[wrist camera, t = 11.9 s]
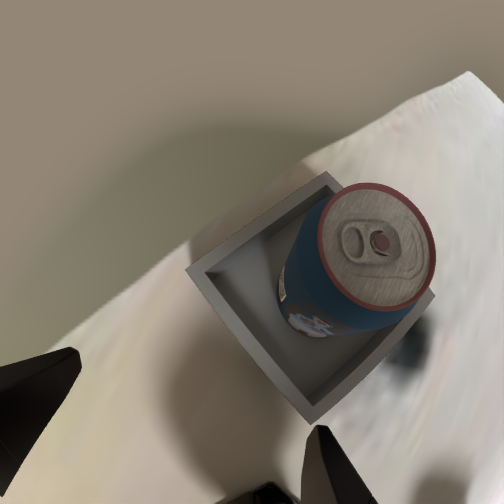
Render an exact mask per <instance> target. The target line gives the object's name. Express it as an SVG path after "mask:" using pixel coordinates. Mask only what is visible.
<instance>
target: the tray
mask: <svg viewBox="0 0 504 504" xmlns="http://www.w3.org/2000/svg"><path fill="white" fill-rule="evenodd" d="M342 189H344V188H343V187H342V186H341V185H340V184H339V183H338V182H337V181H336V180H335V179H334V178H333V177H332V176H331V175H330V174H329V173H328V172H327V171H325V172H324V173H322V174H321V175H319V176H318V177H316V178H315V179H313V180H312V181H310V182H309V183H307V184H306V185H304V186H303V187H302V188H300V189H299V190H297V191H296V192H294V193H293V194H291V195H290V196H288V197H287V198H285V199H284V200H282V201H281V202H280V203H278V204H277V205H275V206H274V207H272V208H271V209H269V210H268V211H267V212H265V213H264V214H262V215H261V216H259V217H258V218H256V219H255V220H254V221H252V222H251V223H249V224H248V225H246V226H245V227H244V228H242V229H241V230H239V231H238V232H237V233H235V234H234V235H232V236H231V237H229V238H228V239H227V240H225V241H224V242H222V243H221V244H220V245H218V246H217V247H215V248H214V249H213V250H211V251H210V252H208V253H207V254H206V255H204V256H203V257H202V258H200V259H199V260H197V261H196V262H195V263H193V264H192V265H190V266H189V267H188V268H186V269H185V271H186V272H187V273H188V275H189V276H190V278H191V279H192V280H193V282H194V283H195V285H196V286H197V287H198V289H199V290H200V291H201V293H202V294H203V296H204V297H205V298H206V300H207V301H208V302H209V304H210V305H211V306H212V308H213V309H214V310H215V312H216V313H217V314H218V316H219V317H220V318H221V319H222V321H223V322H224V323H225V325H226V326H227V327H228V329H229V330H230V331H231V332H232V334H233V335H234V336H235V337H236V339H237V340H238V341H239V343H240V344H241V345H242V346H243V348H244V349H245V350H246V351H247V352H248V354H249V355H250V356H251V357H252V359H253V360H254V361H255V362H256V364H257V365H258V366H259V367H260V368H261V370H262V371H263V372H264V373H265V374H266V376H267V377H268V378H269V379H270V380H271V381H272V383H273V384H274V385H275V386H276V387H277V388H278V390H279V391H280V392H281V393H282V394H283V395H284V396H285V398H286V399H287V400H288V401H289V402H290V403H291V404H292V406H293V407H294V408H295V409H296V410H297V411H298V412H299V413H300V414H301V416H302V417H303V418H304V419H305V420H306V421H307V422H308V423H309V424H310V425H311V424H313V423H314V422H315V421H316V420H318V419H319V418H320V417H321V416H323V415H324V414H325V413H326V412H327V411H328V410H330V409H331V408H332V407H333V406H334V405H335V404H337V403H338V402H339V401H340V400H341V399H342V398H343V397H345V396H346V395H347V394H348V393H349V392H350V391H351V390H352V389H353V388H354V387H355V386H356V385H357V384H358V383H360V382H361V381H362V380H363V379H364V378H365V377H366V376H367V375H368V374H369V373H370V372H371V371H372V370H373V369H374V368H375V367H376V366H377V365H378V364H379V362H380V361H381V360H382V359H383V358H384V357H385V356H386V355H387V354H388V353H389V352H390V351H391V350H392V348H393V347H394V346H395V345H396V344H397V343H398V342H399V341H400V339H401V338H402V337H403V336H404V335H405V334H406V332H407V331H408V330H409V329H410V328H411V326H412V325H413V324H414V323H415V322H416V320H417V319H418V318H419V317H420V315H421V314H422V313H423V311H424V310H425V309H426V308H427V306H428V305H429V304H430V302H431V301H432V300H433V298H434V297H435V295H434V293H433V292H432V291H431V289H430V288H429V287H428V288H427V290H426V291H425V293H424V294H423V295H422V296H421V297H420V298H419V300H418V301H417V303H416V305H415V306H414V307H413V309H412V310H411V311H410V312H409V313H408V314H407V315H406V316H405V317H404V318H402V319H401V320H400V321H398V322H396V323H394V324H392V325H390V326H387V327H384V328H380V329H375V330H370V331H365V332H359V333H354V334H348V335H343V336H337V337H330V338H312V337H308V336H305V335H303V334H301V333H299V332H298V331H296V330H295V329H293V328H292V327H291V326H290V325H289V324H288V323H287V322H286V320H285V319H284V318H283V316H282V314H281V312H280V310H279V307H278V303H277V298H276V287H277V282H278V278H279V276H280V273H281V271H282V269H283V267H284V264H285V262H286V260H287V258H288V255H289V253H290V251H291V248H292V246H293V244H294V242H295V239H296V237H297V235H298V232H299V230H300V228H301V225H302V223H303V221H304V219H305V217H306V216H307V214H308V213H309V212H310V210H311V209H312V208H313V207H314V206H315V205H316V204H317V203H319V202H320V201H321V200H323V199H325V198H326V197H328V196H330V195H333V194H336V193H337V192H339V191H340V190H342Z"/></svg>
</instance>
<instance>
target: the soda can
mask: <svg viewBox="0 0 504 504" xmlns="http://www.w3.org/2000/svg"><path fill="white" fill-rule="evenodd" d="M435 265H436V249H435V243H434V239H433V235H432V232H431V230H430V227H429V225H428V223H427V221H426V220H425V218H424V216H423V215H422V213H421V212H420V211H419V209H418V208H417V207H416V206H415V205H414V204H413V203H412V202H411V201H410V200H409V199H408V198H407V197H405V196H404V195H403V194H401V193H400V192H398V191H396V190H395V189H393V188H391V187H388V186H385V185H382V184H377V183H358V184H354V185H351V186H348V187H346V188H344V189H342V190H340V191H339V192H337V193H336V194H333V195H330V196H328V197H326V198H325V199H323V200H321V201H320V202H319V203H317V204H316V205H315V206H314V207H313V208H312V209H311V210H310V212H309V213H308V214H307V216H306V217H305V219H304V221H303V223H302V225H301V228H300V230H299V232H298V235H297V237H296V239H295V242H294V244H293V246H292V248H291V251H290V253H289V255H288V258H287V260H286V262H285V264H284V267H283V269H282V271H281V273H280V276H279V278H278V282H277V287H276V298H277V303H278V307H279V310H280V312H281V314H282V316H283V318H284V319H285V320H286V322H287V323H288V324H289V325H290V326H291V327H292V328H293V329H295V330H296V331H298V332H299V333H301V334H303V335H305V336H308V337H312V338H330V337H337V336H343V335H348V334H354V333H359V332H365V331H370V330H375V329H380V328H384V327H387V326H390V325H392V324H394V323H396V322H398V321H400V320H401V319H402V318H404V317H405V316H406V315H407V314H408V313H409V312H410V311H411V310H412V309H413V307H414V306H415V305H416V303H417V301H418V300H419V298H420V297H421V296H422V295H423V294H424V293H425V291H426V290H427V288H428V287H429V285H430V283H431V280H432V278H433V275H434V271H435Z"/></svg>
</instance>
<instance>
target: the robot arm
mask: <svg viewBox="0 0 504 504" xmlns="http://www.w3.org/2000/svg"><path fill="white" fill-rule="evenodd" d="M81 369H82V364H81V359H80V354H79V351H78V350H76V349H74V348H72V347H66V348H63V349H60V350H57V351H53V352H50V353H47V354H43V355H40V356H37V357H33V358H30V359H27V360H23V361H19V362H16V363H12V364H9V365H5V366H1V367H0V496H1V497H3V496H4V494H5V492H6V490H7V489H8V487H9V485H10V483H11V482H12V480H13V478H14V476H15V475H16V473H17V471H18V470H19V468H20V466H21V465H22V463H23V461H24V460H25V458H26V456H27V455H28V453H29V452H30V450H31V449H32V447H33V445H34V444H35V442H36V441H37V439H38V438H39V436H40V435H41V433H42V432H43V430H44V429H45V427H46V426H47V424H48V423H49V421H50V420H51V418H52V417H53V416H54V414H55V413H56V411H57V410H58V408H59V407H60V405H61V404H62V403H63V401H64V400H65V398H66V396H67V395H68V393H69V391H70V389H71V388H72V386H73V384H74V382H75V380H76V379H77V377H78V375H79V373H80V372H81ZM270 486H273V488H268V487H270ZM227 504H299V503H298V502H297V501H295V500H294V499H293V498H292V497H291V496H289V495H288V494H287V493H286V492H285V491H284V490H282V489H281V488H280V487H279V486H278V485H277V484H276V483H274V482H269V483H266V484H265V485H263V486H261V487H260V488H258V489H256V490H254V491H253V492H247V493H246V494H244V495H242V496H240V497H238V498H236V499H234V500H232V501H230V502H228V503H227ZM301 504H378V503H377V501H376V500H375V498H374V497H373V496H372V494H371V492H370V491H369V489H368V488H367V486H366V485H365V483H364V482H363V480H362V479H361V477H360V476H359V474H358V473H357V471H356V470H355V468H354V466H353V465H352V463H351V462H350V460H349V459H348V457H347V456H346V454H345V452H344V451H343V449H342V448H341V446H340V445H339V443H338V442H337V440H336V438H335V437H334V435H333V434H332V432H331V430H330V429H329V427H328V426H325V425H316V426H315V427H314V429H313V430H312V432H311V433H310V435H309V436H308V438H307V442H306V448H305V456H304V462H303V469H302V476H301Z"/></svg>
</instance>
